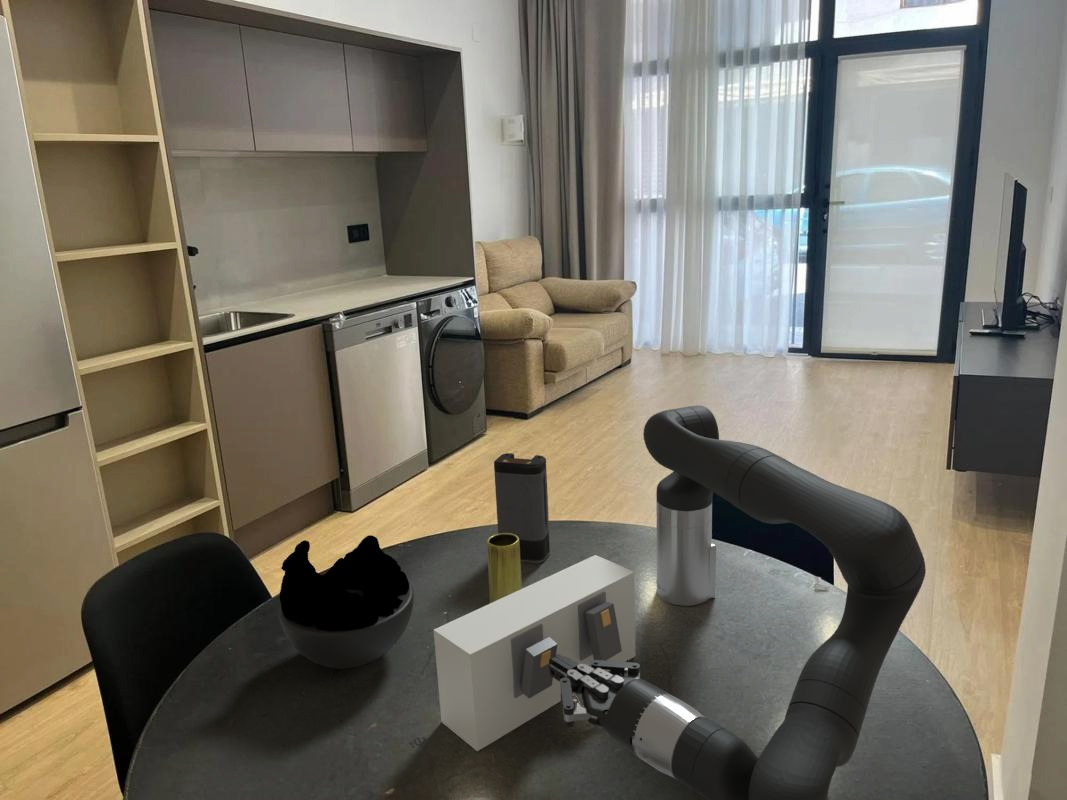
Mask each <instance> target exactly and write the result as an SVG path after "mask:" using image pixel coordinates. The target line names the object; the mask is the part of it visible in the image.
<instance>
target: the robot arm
mask: <svg viewBox="0 0 1067 800" xmlns="http://www.w3.org/2000/svg"><path fill="white" fill-rule="evenodd" d="M642 434H643V440H644V445H645V448H646V450H647V451H648V453H649V454H650V456H651V458H653V460H655V462H656V463H658V464H659V465H660V466H662V467H664V468H665V469H668V470H669V471H672V472H671V473H669V475H667V476H665V477H664V478H662V479H661V480H660V481H659V482H658V484H657V486H656V493H655V494H656V495H655V496H656V502H655V503H656V507H655V508H656V593H657V597H659V598H660V599H661V600H663V601H664V602H666V603H669V604H672V605H676V606H685V607H688V606H696V605H700V604H703V603H705V602H707V601H708V600H709V599H712V598H713V599H714V598H716V583H717V582H716V580H717V579H716V578H717V577H716V575H717V571H716V570H717V546H716V544H715V543H713V542H712V537H713V533H712V532H713V531H712V530H713V525H712V524H713V494H714V493H715V494H716V495H718V496H719V497H721V498H722V499H724V500H726V501H727V502H729V503H730V504H731V505H732V506H734V507H735V508H737V509H739V510H740V511H742V512H743V513H745V514H746V515H747V516H749V517H751V518H753V519H755V520H757V521H760V522H762V523H765V524H771V525H777V524H779V525H781V524H787V523H792V524H795V525H797V526H798V527H800V528H801V529H803V530H804V531H806V532H808V533H809V534H810V535H812V536H813V537H815V538H816V539H817V540H818V541H819V542H821V543H822V544H823V545H824V546H825V547H826V548H827V549H828V551H829V552H830V554H831V556H832V557H833V560H834V561H835V563H836V566H837V567H838V569H839V571H840V574H841V575H842V578H843V579H844V581H845V583H846V584H847V589H846V590H847V591H846V599H845V605H844V610H843V613H842V617H841V620H840V622H839V625H838V626H837V628H836V630H835V631H833V634H832V635H830V637H828V639H826V640H825V641H824V642H823V643H822V644H821V645H820V646H818V648H817V649H816V650H815V651H813V653H812V654H811V655H810V656H809V657H808V659H807V661H806V662H805V664H804V666H803V668H802V670H801V672H800V675H799V677H798V680H797V681H796V684H795V687H794V690H793V693H792V696H791V698H790V701H789V704H788V707H787V710H786V712H785V715H784V720H783V721H782V723H781V724H780V725H779V726H778V728H777V729H776V730H775V732H774V733H773V735H772V736H771V738H770V739H769V741H768V742H767V744H766V745H765V747H764V749H763V750H762V752H761V753H760V754H759V757H758V756H757V755H756V753H755V752H754V751H753V750H752V748H751V747H750V746H749V745H748V743H747V742H745V741H744V740H743V739H742V738H741V737H739V736H738V735H737V734H736V733H734V732H732V731H731V730H729V729H726V728H725V727H723V726H721V725H719V724H718V723H717V722H715V721H713V720H711V719H709V718H707V717H706V716H704V715H703V714H701V713H700V711H698V710H697V709H696V708H694V707H693V706H691V705H689V704H688V703H686V702H684V701H683V700H681V699H679V698H678V697H675V696H674V695H672V694H670V693H669V692H667V691H665V690H663V689H662V688H660V687H658V686H656V685H655V684H653V683H651V682H649V681H648V680H646V679H644V678H643V679H642V678H641V666H640V663H637V662H630V661H626V662H618V661H604V660H593V661H592V662H591V665H586V664H578V663H576V662H575V661H573V660H571V659H570V658H568V657H565V656H561V655H560V654H558V655H556V656H554V657H553V658H551V659H549V671H550V675H551V676H552V677H553V678H555V679H557V680H558V681H559V682H560V687H561V701H560V703H561V711H562V718H563V725H564V726H565V727H566V728H569V729H570V728H574V727H575V724H576V722H577V721H587V722H588V723H589V724H590V725H592V726H595V727H598V728H599V727H600V728H601V729H604V731H605V732H606V733H607V734H608V736H609V737H610V738H611V739H612V740H613V742H615V743H616V744H618V745H619V746H621V747H622V748H623V749H625V750H627V751H628V752H630V753H631V754H633V755H634V756H636V757H638V759H640V760H642V761H643V762H645V763H647V764H648V765H650V766H651V767H653V768H654V769H655V770H657V771H659V772H661V773H662V774H665V775H667V776H670V777H671V778H673V779H675V780H676V781H678V782H679V783H681V784H682V785H684V786H685V787H686V788H688V789H690V790H691V791H692V792H694V793H695V794H697V795H699V796H701V797H702V798H704V799H706V800H830V799H829V796H828V795H829V792H830V791H829V790H830V785H831V782H832V780H833V776H834V773H835V771H836V769H837V768H839V767H842V766H844V765H846V764H847V763H848V762H849V761H850V759H851V758H852V756H853V755H854V752H855V750H856V746H857V743H858V740H859V738H860V735H861V734H860V733H861V730H862V727H863V724H864V720H865V717H866V714H867V709H868V707H869V704H870V700H871V697H872V693H873V691H874V688H875V684H876V682H877V679H878V676H879V673H880V671H881V668H882V666H883V664H884V661H885V659H886V657H887V655H888V654H889V653H888V652H889V650H890V648H891V647H892V644H893V642H894V640H895V638H896V636H897V634H898V632H899V631H900V628H901V626H902V624H903V622H904V621H905V619H906V617H907V615H908V613H909V611H910V610H911V608H912V606H913V604H914V602H915V600H916V598H917V597H918V594H919V592H920V590H921V588H922V586H923V583H924V580H925V577H926V573H927V572H926V570H927V569H926V562H925V558H924V555H923V552H922V550H921V546H920V545H919V543H918V539H917V538H916V535H915V532H914V531H913V527H912V525H911V524H910V522H909V520H908V519H907V518H906V517H905V515H904V514H903V513H902V512H901V511H900V510H898V509H897V508H895V507H894V506H893V505H891V504H889V503H886V502H885V501H883V500H880V499H877V498H875V497H872V496H870V495H866V494H864V493H861V492H857V491H855V490H853V489H849V488H846V487H844V486H842V485H838V484H835V483H833V482H830V481H829V480H827V479H824V478H822V477H820V476H818V475H816V474H815V473H812V472H810V471H808V470H807V469H804V468H803V467H801V466H798V465H796V464H794V463H792V462H791V461H789V460H788V459H786V458H784V457H782V456H780V455H778V454H776V453H774V452H772V451H770V450H768V449H766V448H763V447H761V446H758V445H754V444H749V443H745V442H741V441H734V440H726V439H720V432H719V426H718V422H717V419H716V417H715V415H714V414H713V412H712V411H711V410H710V409H709V408H707V407H706V406H704V405H692V406H683V407H679V408H677V407H676V408H672V409H666V410H662V411H659V412H656V413H654V414H653V415H652V416H650V418H648V419H647V421H646V423H645V424H644V428H643V433H642ZM602 669H605V670H610V672H606V671H604V670H602ZM573 696H574V697H576V698H573ZM581 705H582V706H581Z"/></svg>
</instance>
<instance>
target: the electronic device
mask: <svg viewBox="0 0 1067 800" xmlns="http://www.w3.org/2000/svg"><path fill="white" fill-rule="evenodd" d="M493 467H494V468H493V470H494V487H495V490H494V491H495V502H496V503H495V504H496V505H495V506H496V518H497V519H496V520H497V534H500V533H511V534H515V535H516V536H518V537H519V544H520V563H529V564H530V563H531V564H541V563H543V562H544V561H545V560H546V559H547V557H548V556H549V555H550V552H551V551H550V550H551V549H550V548H551V546H550V528H549V527H550V526H549V525H550V524H549V499H548V497H549V496H548V477H547V476H548V475H547V458H546V457H545V456H543V455H539V454H535V455H534V456H533V457H532V458H516V457H515V453H512V452H511V453H509V452H508V453H503V454H501V455H500V456H499V457H497V458H496V459H495V460H494V461H493Z"/></svg>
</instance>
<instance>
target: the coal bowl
mask: <svg viewBox="0 0 1067 800" xmlns="http://www.w3.org/2000/svg"><path fill="white" fill-rule="evenodd" d="M378 539H379V538H377V537H376V536H374V535H373V534H372V535H370V534H369V535H367V536H365V537H364V538H363V539H361V541H360V542H359V543H358V545H357V546H356V547H355V548H354V549H353V550H352V551H349V552H346V554H345V555H344V557H339V558H338V559H337V560H336V561H335V562H334V564H333V565H332V566H330V569H329V570H327V571H326V573H324V574H321V573H319V572H318V571H316V570H317V569H316V568H315V566H314V565H313V564H312V563H311V562H310V560H309V551H310V549H311V548H310V547H311V546H310V541H308V540H307V539H305V540H301V541H300V542H299V543H298V544H297V545H296V546H295V547H294V551H293V552H292V553H290V554H289V555H288V556H287V557H286V559H284V560H283V562H282V566H281V567H280V569H281V570H282V571H284V575H283V576H282V580H281V584H280V590H279V596H278V597H279V598H278V599H279V602H280V606H279V608H278V617H279V622H280V625H281V628H282V630H283V632H284V634H285V636H286V638H287V639H288V641H289V643H290V644H291V645H292V646H293V648H295V650H297V651H298V652H299V653H300V654H301V655H302V656H304V658H306V659H308V660H310V661H311V662H314V664H318V665H320V666H324V667H328V668H335V669H352V668H355V667H356V668H357V667H361V666H363V665H367V664H369V663H373V662H374V661H375V660H377V659H379V658H380V657H382V656H384V655H385V654H386V653H387V652H389V651H390V650H391V649H392V648H394V646H395V645H396V644H397V642H398V641H399V640H400V639H401V637H402V636H403V634H404V632H405V630H406V629H407V627H408V625H409V622H410V619H411V616H412V613H413V607H414V600H415V599H414V598H415V596H414V594H415V593H414V587H413V585H412V583H411V582H410V581H409V579H408V576H407V574H406V573H405V572H404V571H402V567H401V565H399V564H398V561H397V560H396V559H395V558H393V556H390V555H389V554H387V553H386V552H384V551H383V550H382V549H381V547H380V543H379V540H378Z"/></svg>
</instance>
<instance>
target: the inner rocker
mask: <svg viewBox="0 0 1067 800" xmlns="http://www.w3.org/2000/svg"><path fill="white" fill-rule="evenodd" d="M585 614H586V619H587V625H588V630H589V636H590V641H591V647H592V652H593V658H594V660H604V661H606V660H608V659H610V658H611V657H613V656H615V655H616V654H618V653H620V652H621V651H622V649H621V643H620V637H619V632H618V626H617V620H616V615H615V609H614V604H613V603H609V602H604V603H602V604H600V605H598V606H596V607H594V608H593V609H591V610H589V611H587V612H585Z"/></svg>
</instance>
